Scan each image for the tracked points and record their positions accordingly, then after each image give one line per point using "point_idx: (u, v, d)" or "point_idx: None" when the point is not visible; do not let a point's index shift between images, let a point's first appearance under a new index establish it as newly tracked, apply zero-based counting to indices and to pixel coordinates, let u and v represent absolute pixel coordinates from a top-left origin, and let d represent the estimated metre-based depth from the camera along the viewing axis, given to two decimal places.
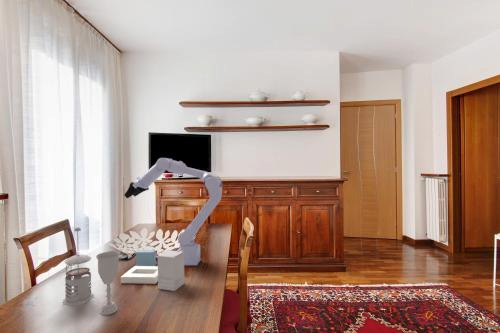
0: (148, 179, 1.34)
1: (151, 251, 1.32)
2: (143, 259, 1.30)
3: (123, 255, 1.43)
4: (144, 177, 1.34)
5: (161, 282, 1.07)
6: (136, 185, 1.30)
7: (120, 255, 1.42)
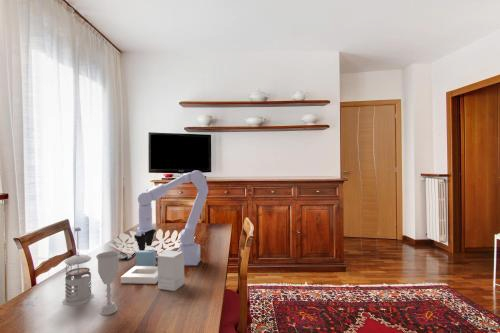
0: (145, 220, 1.29)
1: (151, 251, 1.32)
2: (143, 259, 1.30)
3: (123, 255, 1.43)
4: (141, 222, 1.29)
5: (161, 282, 1.07)
6: (139, 232, 1.25)
7: (120, 255, 1.41)
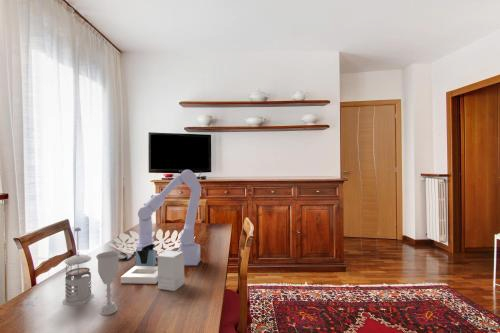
0: (145, 235, 1.29)
1: (151, 251, 1.32)
2: None
3: (122, 255, 1.43)
4: (141, 237, 1.29)
5: (161, 282, 1.07)
6: (139, 247, 1.25)
7: (119, 255, 1.41)
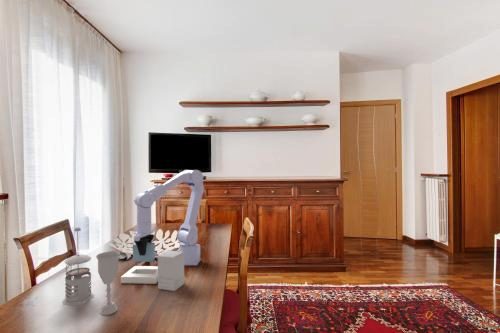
0: (143, 224, 1.19)
1: (149, 244, 1.21)
2: None
3: (122, 255, 1.42)
4: (139, 226, 1.19)
5: (161, 282, 1.07)
6: (137, 237, 1.14)
7: (119, 255, 1.41)
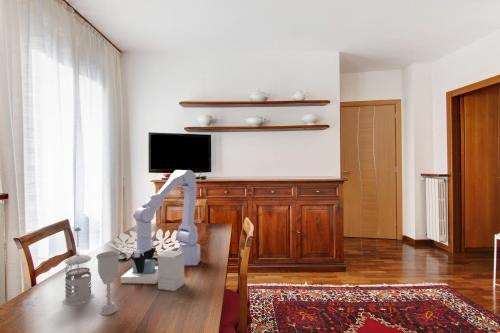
0: (143, 239, 1.16)
1: (150, 261, 1.18)
2: None
3: (121, 256, 1.42)
4: (139, 241, 1.16)
5: (161, 282, 1.07)
6: (137, 253, 1.12)
7: (118, 256, 1.40)
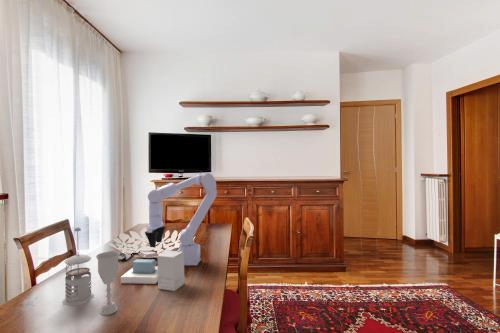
0: (155, 217, 1.31)
1: (150, 261, 1.18)
2: (140, 270, 1.17)
3: (121, 256, 1.41)
4: (151, 219, 1.31)
5: (161, 282, 1.07)
6: (150, 229, 1.27)
7: (118, 256, 1.40)
